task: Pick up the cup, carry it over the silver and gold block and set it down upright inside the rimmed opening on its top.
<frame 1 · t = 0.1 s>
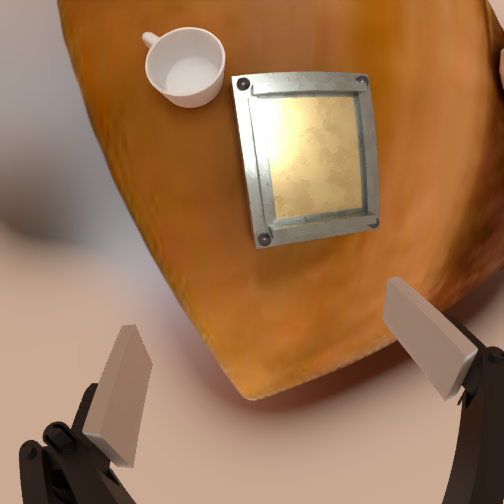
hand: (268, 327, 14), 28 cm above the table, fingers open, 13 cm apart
silver and gold block: (304, 153, 38), on the table
cup: (183, 73, 32), on the table
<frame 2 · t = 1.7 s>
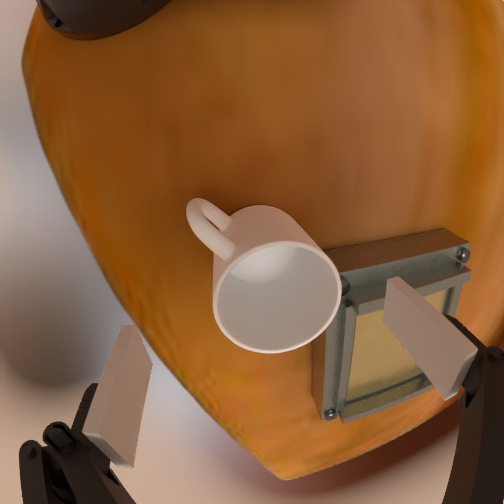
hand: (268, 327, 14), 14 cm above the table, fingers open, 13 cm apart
silver and gold block: (378, 320, 32), on the table
cup: (243, 233, 26), on the table
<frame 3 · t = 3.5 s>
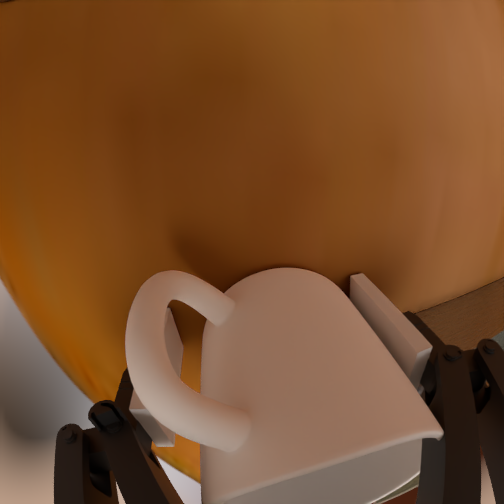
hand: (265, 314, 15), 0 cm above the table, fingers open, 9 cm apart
silver and gold block: (428, 390, 21), on the table
cup: (254, 310, 15), on the table, touching gripper
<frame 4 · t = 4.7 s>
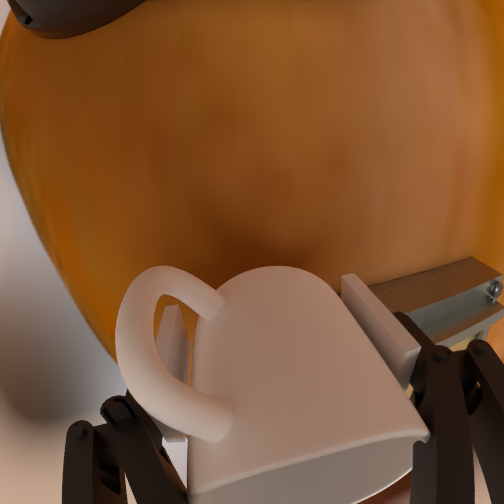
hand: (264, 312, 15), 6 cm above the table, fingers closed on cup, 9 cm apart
silver and gold block: (399, 361, 27), on the table
cup: (246, 307, 15), point 6 cm above the table, touching gripper
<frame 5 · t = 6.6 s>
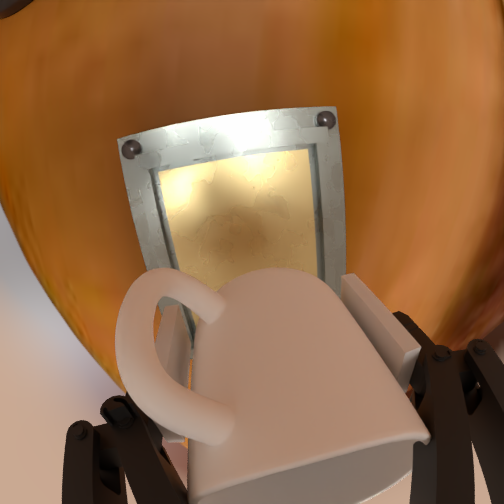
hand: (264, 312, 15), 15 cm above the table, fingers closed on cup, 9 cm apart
silver and gold block: (241, 229, 29), on the table
cup: (246, 309, 15), point 15 cm above the table, touching gripper
when the fingers open (7 cm above the table, at t = 8.8 s): cup drops 1 cm, resting on silver and gold block.
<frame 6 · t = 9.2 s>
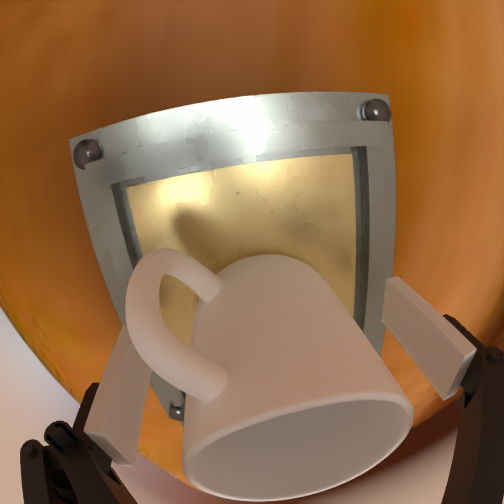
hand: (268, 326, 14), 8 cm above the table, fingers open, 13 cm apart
silver and gold block: (250, 261, 21), on the table
cup: (242, 294, 16), point 5 cm above the table, touching silver and gold block
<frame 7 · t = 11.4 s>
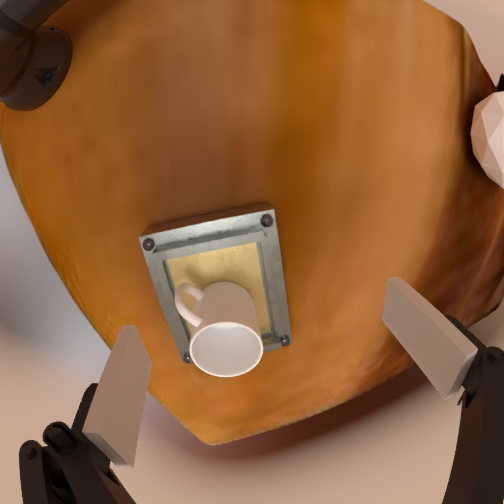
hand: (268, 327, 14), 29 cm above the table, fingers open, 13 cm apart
silver and gold block: (221, 282, 44), on the table
geometric sphere: (480, 137, 39), on the table
cup: (214, 297, 39), point 5 cm above the table, touching silver and gold block
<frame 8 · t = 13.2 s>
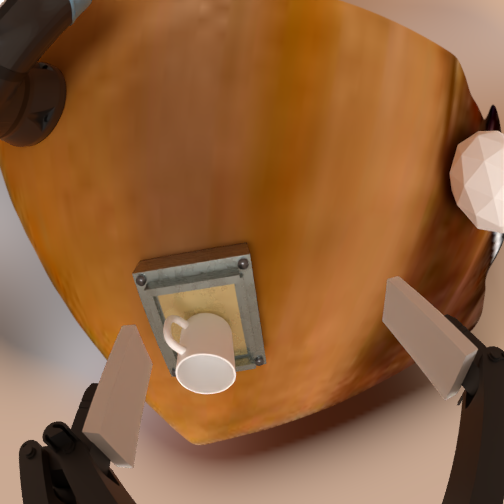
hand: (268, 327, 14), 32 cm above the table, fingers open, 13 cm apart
silver and gold block: (205, 308, 49), on the table
geometric sphere: (461, 172, 45), on the table
cup: (198, 324, 44), point 5 cm above the table, touching silver and gold block
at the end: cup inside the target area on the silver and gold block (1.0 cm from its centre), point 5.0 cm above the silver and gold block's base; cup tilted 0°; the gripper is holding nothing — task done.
